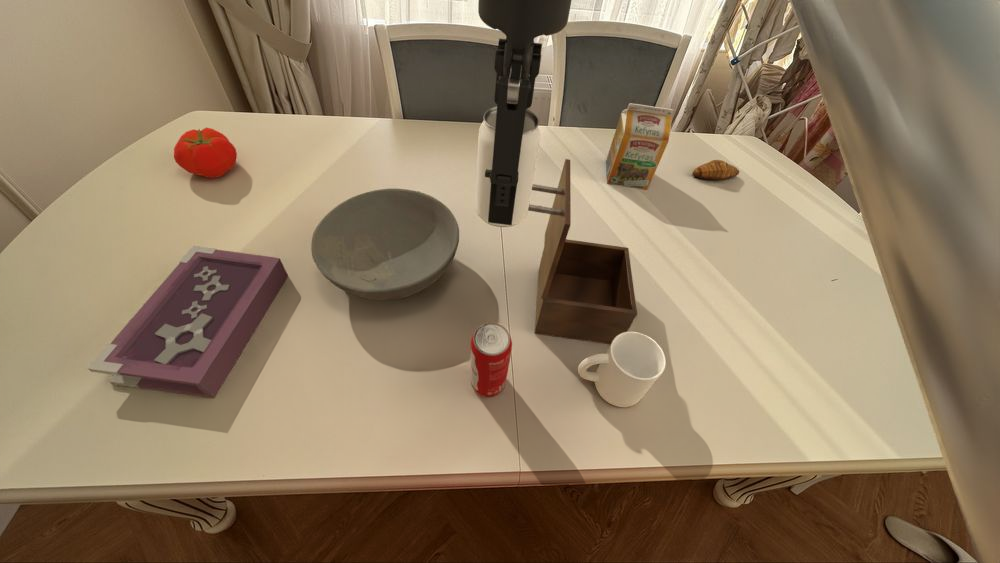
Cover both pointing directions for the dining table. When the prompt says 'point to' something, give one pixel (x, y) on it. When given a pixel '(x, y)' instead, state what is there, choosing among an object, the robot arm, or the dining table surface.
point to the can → (525, 166)
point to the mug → (625, 368)
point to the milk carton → (638, 145)
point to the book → (194, 323)
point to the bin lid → (555, 225)
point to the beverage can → (490, 359)
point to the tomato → (205, 153)
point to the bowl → (385, 243)
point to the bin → (587, 294)
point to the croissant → (716, 170)
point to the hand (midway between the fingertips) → (502, 201)
